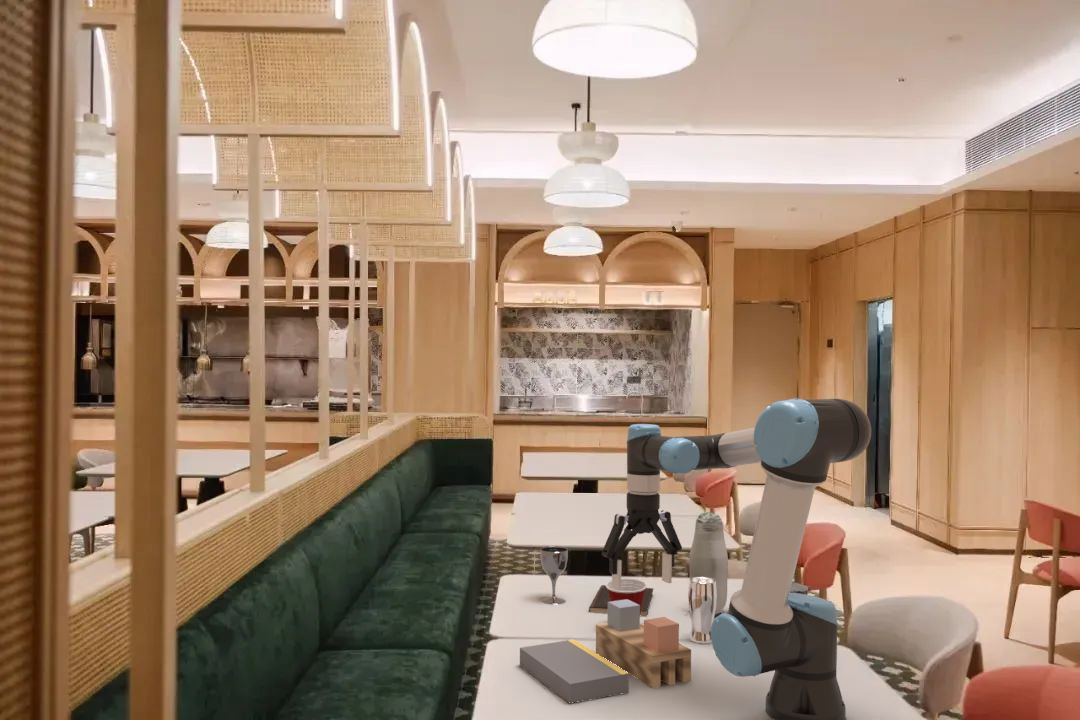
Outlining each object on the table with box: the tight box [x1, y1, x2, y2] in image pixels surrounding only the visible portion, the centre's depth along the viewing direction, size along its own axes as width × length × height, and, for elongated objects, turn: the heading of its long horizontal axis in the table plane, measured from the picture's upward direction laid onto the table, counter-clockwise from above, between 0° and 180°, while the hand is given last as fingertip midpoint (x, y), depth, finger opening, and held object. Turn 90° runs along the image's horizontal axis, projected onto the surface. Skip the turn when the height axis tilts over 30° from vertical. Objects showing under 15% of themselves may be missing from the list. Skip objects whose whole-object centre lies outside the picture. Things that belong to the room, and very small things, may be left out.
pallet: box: [595, 622, 692, 689], centre depth 195 cm, size 24×10×7 cm, turn 27°
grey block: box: [607, 599, 641, 632], centre depth 202 cm, size 6×6×6 cm
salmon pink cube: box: [643, 616, 680, 652], centre depth 188 cm, size 6×6×6 cm
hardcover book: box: [588, 584, 654, 617], centre depth 246 cm, size 16×23×2 cm
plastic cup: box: [605, 577, 648, 614], centre depth 221 cm, size 11×11×12 cm
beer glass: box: [687, 577, 717, 645], centre depth 214 cm, size 7×7×15 cm
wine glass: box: [539, 545, 569, 605], centre depth 247 cm, size 8×8×15 cm
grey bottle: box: [689, 511, 729, 616], centre depth 236 cm, size 10×10×28 cm
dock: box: [519, 639, 630, 704], centre depth 187 cm, size 24×15×4 cm, turn 26°
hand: (642, 585), depth 195 cm, fingers open, 13 cm apart
